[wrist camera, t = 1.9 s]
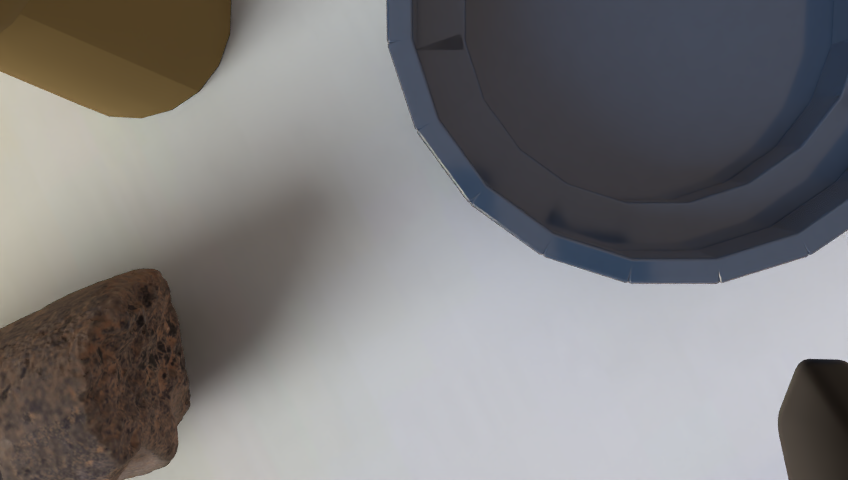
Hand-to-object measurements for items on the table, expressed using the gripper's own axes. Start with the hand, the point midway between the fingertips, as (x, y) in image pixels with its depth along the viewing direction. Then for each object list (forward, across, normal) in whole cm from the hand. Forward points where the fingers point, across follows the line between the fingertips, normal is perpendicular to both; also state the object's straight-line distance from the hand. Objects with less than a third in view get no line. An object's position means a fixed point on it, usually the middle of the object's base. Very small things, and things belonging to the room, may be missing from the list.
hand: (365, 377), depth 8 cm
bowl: (+15, -6, +2) cm, 16 cm away
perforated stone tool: (+9, +12, +12) cm, 19 cm away
